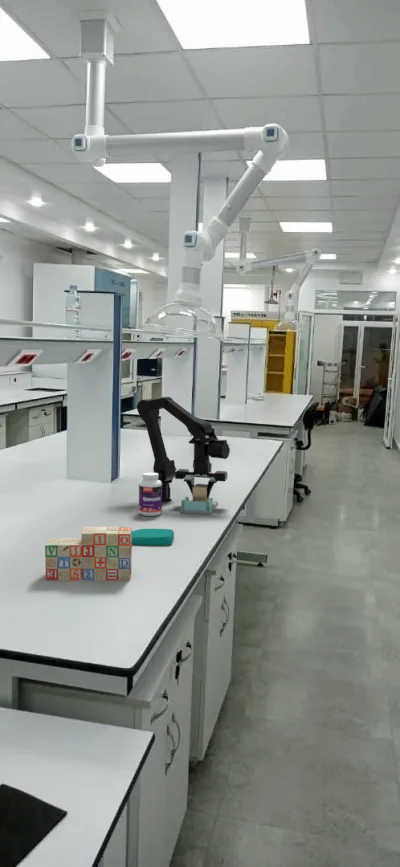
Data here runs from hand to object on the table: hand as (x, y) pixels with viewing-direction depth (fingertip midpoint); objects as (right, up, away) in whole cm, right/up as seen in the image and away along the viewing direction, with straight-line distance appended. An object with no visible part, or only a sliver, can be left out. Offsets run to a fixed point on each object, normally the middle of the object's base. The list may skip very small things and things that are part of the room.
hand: (201, 497), depth 240 cm
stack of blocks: (-29, -13, -74) cm, 80 cm away
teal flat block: (-21, -9, -42) cm, 48 cm away
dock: (-1, -4, -3) cm, 4 cm away
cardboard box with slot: (0, -1, 0) cm, 1 cm away
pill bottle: (-18, -5, -11) cm, 22 cm away
